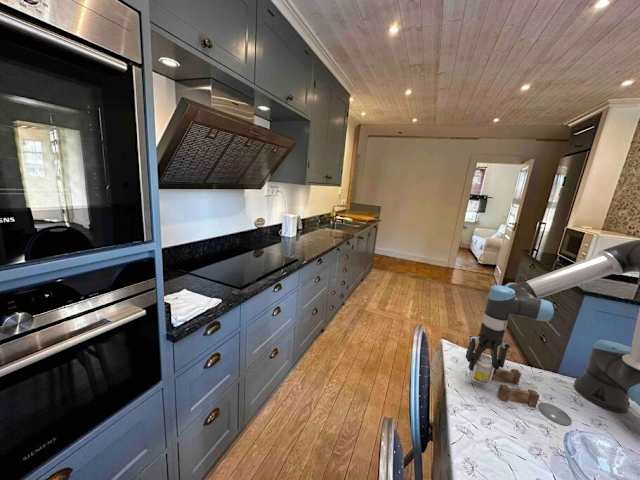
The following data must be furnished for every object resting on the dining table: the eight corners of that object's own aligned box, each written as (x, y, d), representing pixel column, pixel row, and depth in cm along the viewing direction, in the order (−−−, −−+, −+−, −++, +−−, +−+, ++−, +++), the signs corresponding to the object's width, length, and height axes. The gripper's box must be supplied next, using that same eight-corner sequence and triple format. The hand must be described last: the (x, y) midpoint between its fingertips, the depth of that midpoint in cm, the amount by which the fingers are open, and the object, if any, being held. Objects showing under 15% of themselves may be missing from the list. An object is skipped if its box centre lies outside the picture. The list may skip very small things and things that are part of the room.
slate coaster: (558, 406, 97) (559, 405, 97) (578, 428, 88) (578, 426, 88) (532, 401, 98) (532, 400, 98) (548, 422, 90) (549, 421, 89)
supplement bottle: (475, 372, 108) (480, 350, 106) (489, 381, 104) (496, 358, 101) (468, 377, 104) (474, 354, 102) (484, 386, 100) (490, 363, 98)
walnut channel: (514, 380, 109) (517, 369, 108) (535, 407, 96) (539, 395, 94) (483, 375, 110) (486, 364, 109) (500, 400, 97) (503, 388, 96)
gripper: (514, 325, 101) (499, 376, 106) (463, 317, 104) (451, 368, 109) (526, 335, 94) (510, 390, 99) (471, 326, 97) (458, 380, 102)
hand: (479, 378), depth 104 cm, fingers closed on supplement bottle, 6 cm apart
